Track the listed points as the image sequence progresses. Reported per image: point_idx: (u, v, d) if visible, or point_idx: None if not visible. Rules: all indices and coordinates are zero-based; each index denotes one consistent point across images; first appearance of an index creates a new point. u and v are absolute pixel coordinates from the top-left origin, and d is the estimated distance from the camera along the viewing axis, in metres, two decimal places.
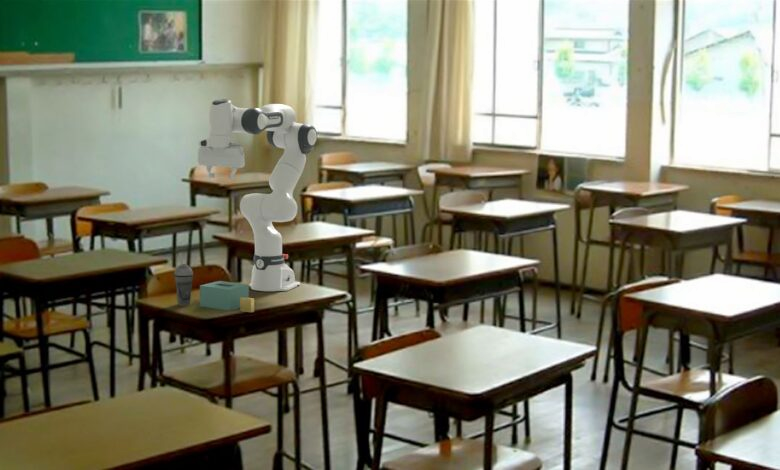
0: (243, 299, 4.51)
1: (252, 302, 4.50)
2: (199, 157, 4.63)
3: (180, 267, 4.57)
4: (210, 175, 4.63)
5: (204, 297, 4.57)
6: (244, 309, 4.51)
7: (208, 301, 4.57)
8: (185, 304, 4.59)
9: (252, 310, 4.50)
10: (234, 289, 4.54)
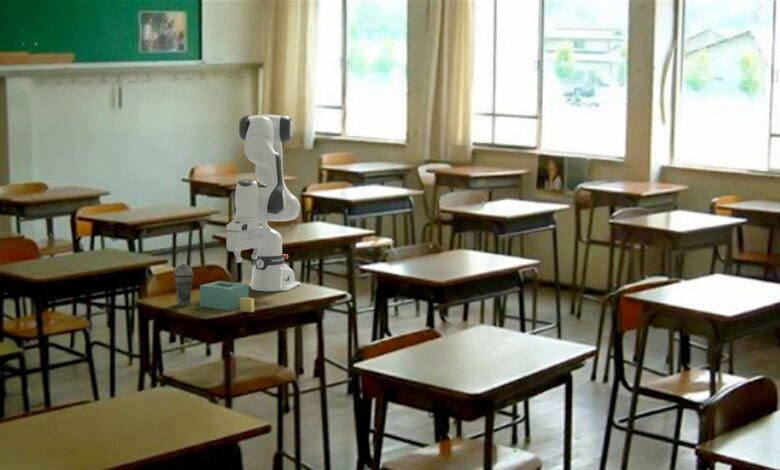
0: (243, 299, 4.51)
1: (252, 302, 4.50)
2: (236, 243, 4.39)
3: (180, 267, 4.57)
4: (241, 260, 4.44)
5: (204, 297, 4.57)
6: (244, 309, 4.51)
7: (208, 301, 4.57)
8: (185, 304, 4.59)
9: (252, 310, 4.50)
10: (234, 289, 4.54)
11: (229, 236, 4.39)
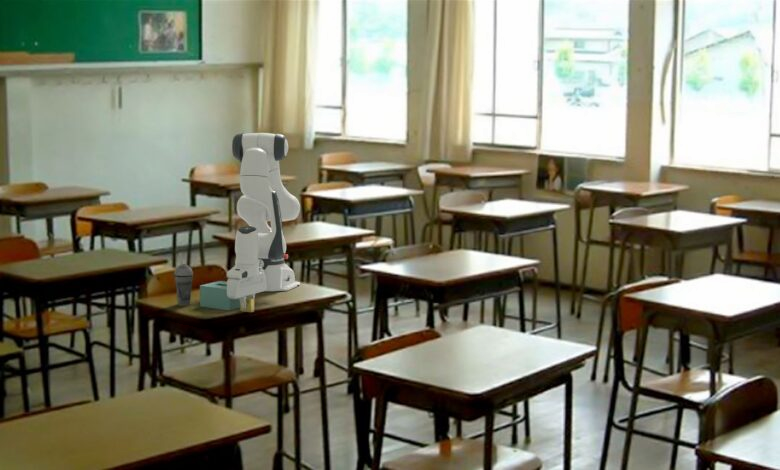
0: None
1: (252, 302, 4.50)
2: (237, 291, 4.42)
3: (180, 267, 4.57)
4: (246, 305, 4.49)
5: (204, 297, 4.57)
6: (244, 309, 4.51)
7: (208, 301, 4.57)
8: (185, 304, 4.59)
9: (252, 310, 4.50)
10: None
11: (230, 283, 4.42)
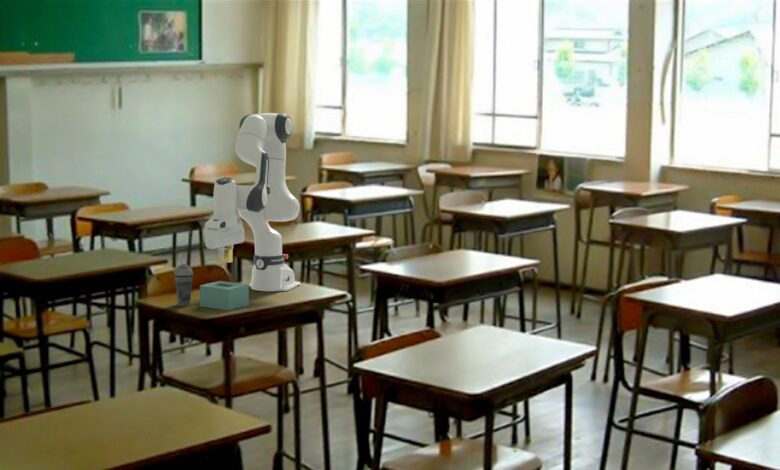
0: None
1: (230, 252, 4.56)
2: (215, 241, 4.48)
3: (180, 267, 4.57)
4: (224, 255, 4.56)
5: (204, 297, 4.57)
6: (223, 259, 4.57)
7: (208, 301, 4.57)
8: (185, 304, 4.59)
9: (230, 260, 4.57)
10: (234, 289, 4.54)
11: (208, 234, 4.48)
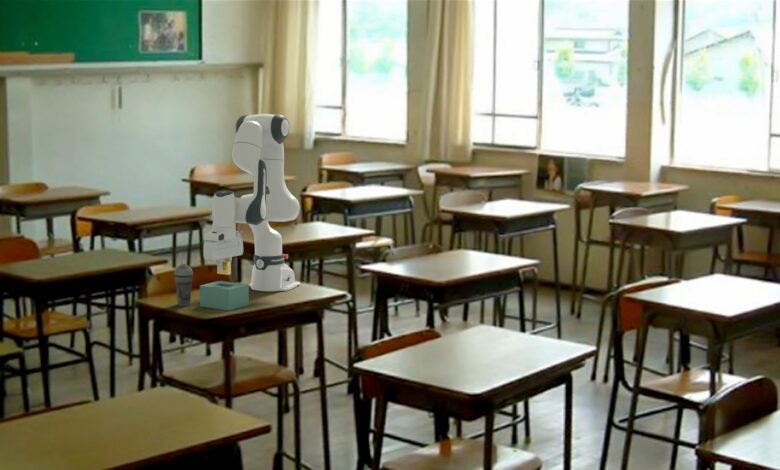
0: None
1: (229, 265, 4.57)
2: (213, 253, 4.49)
3: (180, 267, 4.57)
4: (223, 268, 4.56)
5: (204, 297, 4.57)
6: (221, 272, 4.58)
7: (208, 301, 4.57)
8: (185, 304, 4.59)
9: (229, 273, 4.57)
10: (234, 289, 4.54)
11: (206, 246, 4.49)
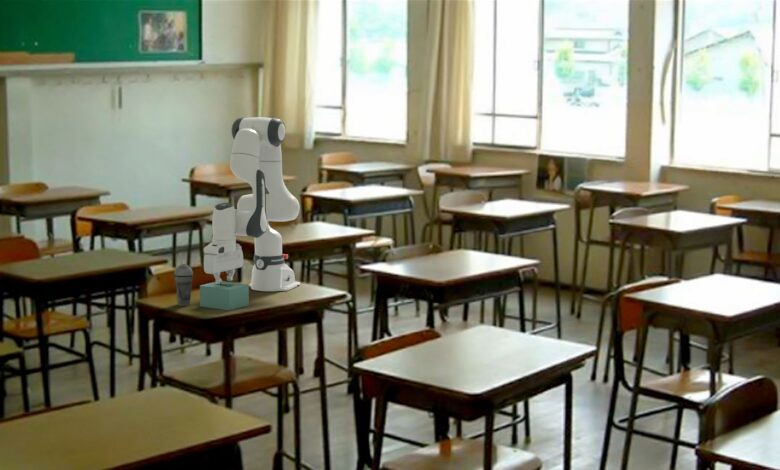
0: None
1: None
2: (213, 266, 4.49)
3: (180, 267, 4.57)
4: (220, 281, 4.56)
5: (204, 297, 4.57)
6: None
7: (208, 301, 4.57)
8: (185, 304, 4.59)
9: None
10: (234, 289, 4.54)
11: (207, 259, 4.50)
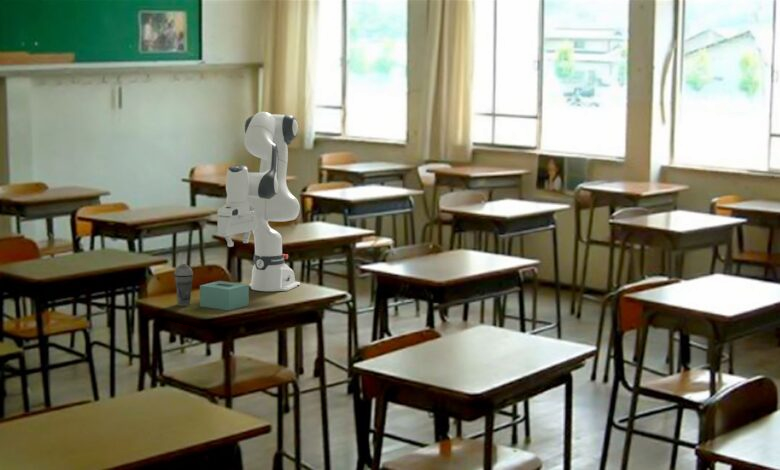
0: None
1: None
2: (227, 228, 4.48)
3: (180, 267, 4.57)
4: (232, 244, 4.54)
5: (204, 297, 4.57)
6: None
7: (208, 301, 4.57)
8: (185, 304, 4.59)
9: None
10: (234, 289, 4.54)
11: (220, 221, 4.49)
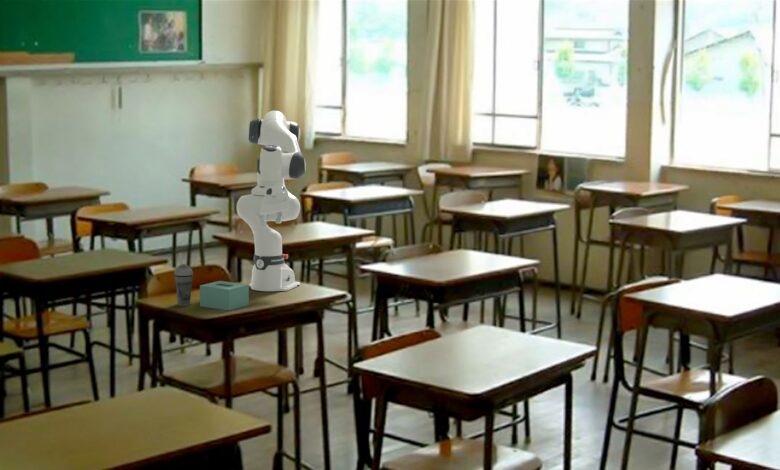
0: None
1: None
2: (261, 207, 4.49)
3: (180, 267, 4.57)
4: (265, 223, 4.54)
5: (204, 297, 4.57)
6: None
7: (208, 301, 4.57)
8: (185, 304, 4.59)
9: None
10: (234, 289, 4.54)
11: (254, 200, 4.49)
